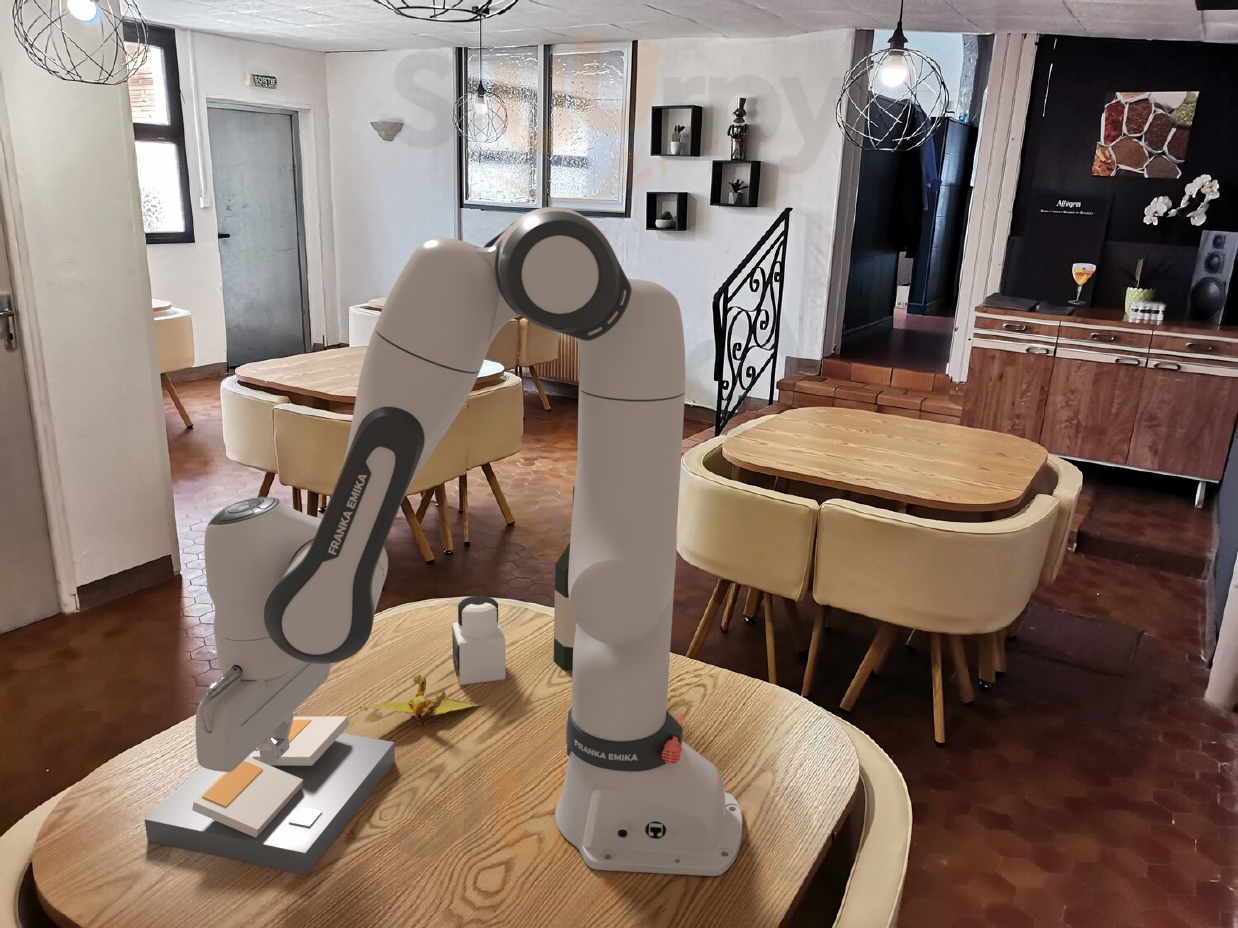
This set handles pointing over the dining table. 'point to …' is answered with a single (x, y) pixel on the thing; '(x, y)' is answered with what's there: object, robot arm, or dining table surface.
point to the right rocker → (310, 739)
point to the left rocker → (248, 796)
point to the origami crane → (423, 703)
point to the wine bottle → (563, 614)
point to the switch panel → (299, 825)
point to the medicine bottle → (478, 642)
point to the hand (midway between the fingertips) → (275, 756)
